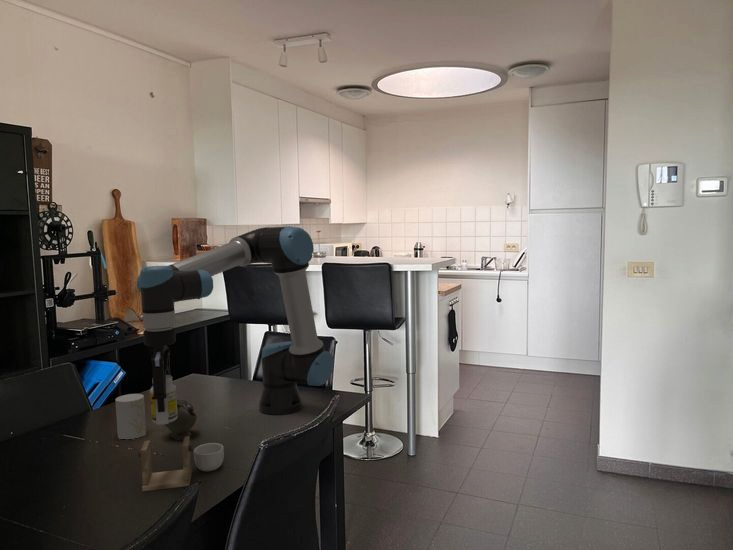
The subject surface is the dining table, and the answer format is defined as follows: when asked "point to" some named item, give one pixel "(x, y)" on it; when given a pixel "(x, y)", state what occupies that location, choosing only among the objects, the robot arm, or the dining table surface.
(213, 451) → the teacup
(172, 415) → the pill bottle
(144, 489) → the holder
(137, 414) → the white cylinder
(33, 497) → the dining table surface
